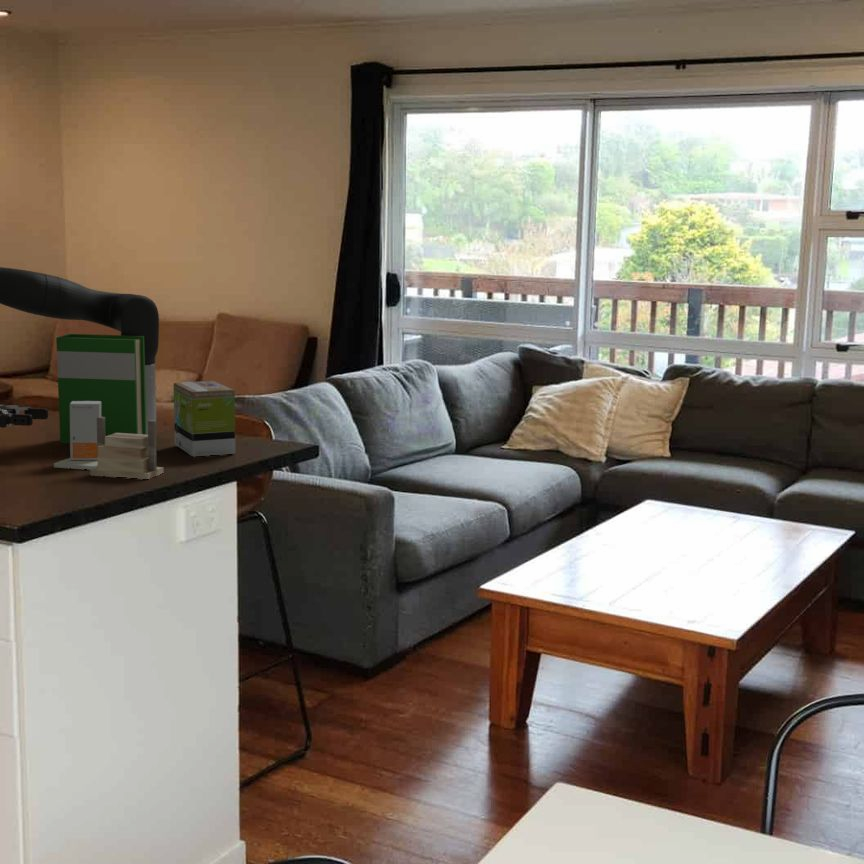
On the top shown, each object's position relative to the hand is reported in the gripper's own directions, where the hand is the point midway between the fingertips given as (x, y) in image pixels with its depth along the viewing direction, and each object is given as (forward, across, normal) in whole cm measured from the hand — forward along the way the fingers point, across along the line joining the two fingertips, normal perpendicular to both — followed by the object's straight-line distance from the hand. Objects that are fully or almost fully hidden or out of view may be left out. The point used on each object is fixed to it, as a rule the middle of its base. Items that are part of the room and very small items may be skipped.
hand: (39, 417), depth 251 cm
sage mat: (+10, 0, +9) cm, 14 cm away
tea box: (+30, +19, +10) cm, 37 cm away
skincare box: (+10, 0, +9) cm, 13 cm away
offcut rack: (+21, -10, +9) cm, 25 cm away
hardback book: (+5, +25, +9) cm, 28 cm away
